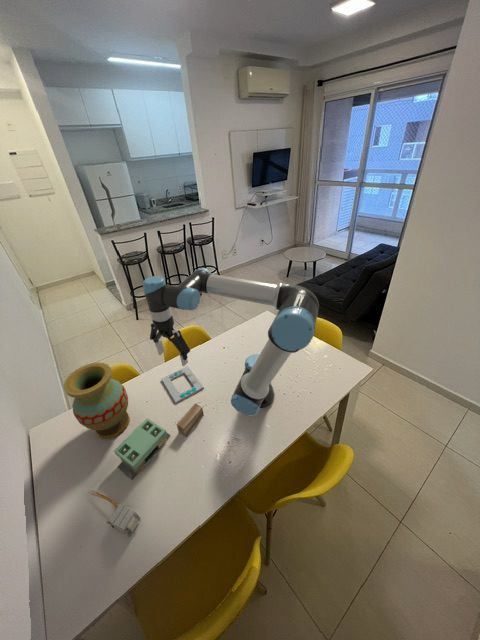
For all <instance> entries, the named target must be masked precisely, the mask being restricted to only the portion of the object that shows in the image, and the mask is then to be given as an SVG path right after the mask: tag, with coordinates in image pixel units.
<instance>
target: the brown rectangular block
mask: <svg viewBox="0 0 480 640" xmlns="http://www.w3.org/2000/svg"><path fill="white" fill-rule="evenodd" d="M203 417H204V409H203V406H201V405H199V404H197V403H194V404H192V406H191V407H190V408H189V409H188V411H186V413H185V414H184V415H183V416H182V417H181V418H180V420H179V421H177V422H176V428H177V430H178V433H179V434H181V435H182V436H184V437H185V438H187V436H188V435H189V434H190V433H191V432H192V430H193V429H194V428H195V427H196V425H198V423H199V422H200V421H201V420H202V419H203Z"/></svg>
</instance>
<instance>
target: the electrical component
mask: <svg viewBox="0 0 480 640" xmlns="http://www.w3.org/2000/svg"><path fill="white" fill-rule="evenodd" d="M87 493H88V494H91V495H93V496H96V497H99V498H101V499H103V500H106V501H108V502H110V503H112V504H114V505H115V506H116V508H115V510H114V512H113V514H112V515H111V516H110V517H109V519H108V520H107V522H106V524H108V525H110V528H113V529H114V528H115V529H117V530H119V531H120V532H122V533H124V534H126V536H127V537H128V538H132V536H133V533H134V530H135V529H136V527H138V526H137V525H138V524H139V522H141V519H142V518H141V516H140V515H139V514H138V513H137V512H136V511H135V510H133V509H131V508H129V507H128V506H125V505H123V504H121V503H119V505H118V503H117V502H115V501H114V500H112V499H111V498H109V497H107V496H105V495H103V494H102V493H99V492H98V491H96V490H91V491H87Z"/></svg>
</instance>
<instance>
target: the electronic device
mask: <svg viewBox="0 0 480 640" xmlns="http://www.w3.org/2000/svg"><path fill="white" fill-rule="evenodd" d="M183 375H184V376H185V377H186V378H187V380H188V382H190V383H191V386H192V387H190V388H189V389H187V390H185V391H183V392H182V393H179V390H178V389H177V388H176V386H175V385H174V383H173V382H172V381H173V380H175V379H177V378H179V377H181V376H183ZM161 381H162V383H163V384H164V386H165V388H166V390H167V391H168V392H169V394H170V396H171V398H172V400H173V401H174V403H175V404H178V403H180V402H182V401H183V400H186V399H188V398H189V397H191V396H193V395H195V394H197V393H198V392H200V391H202V390H204V389H205V387H204V386H203V384H202V383H201V381H200V380H199V379H198V378H197V376H196V375H195V374H194V373H193V371H192V370H191V368H190V367H189V366H187V365H186V366H184V367H182V368H181V369H179V370H176V371H175V372H173V373H169V375H167V376H165V377H162V378H161Z"/></svg>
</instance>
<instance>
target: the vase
mask: <svg viewBox="0 0 480 640" xmlns="http://www.w3.org/2000/svg"><path fill="white" fill-rule="evenodd" d="M63 390H64V392H65V393H66V394H67V396H69V397H71V398H73V401H72V412H73V416H74V418H75V419H76V420H77V422H79V425H81V426H82V427H85V428H87V429H89V430H93V431H95V433H96V434H97V436H98V438H101V439H102V440H103V439H104V440H111V439H115V438H116V437H118V436H120V435H121V434H123V432H125V431H126V429H127V428H128V426H129V424H130V415H129V413H128V407H129V395H128V393H127V390H126V388H125V387H124V385H123V384H122V383H121V382H120V381H118V380H117V379H114V378H113V371H112V368H111V367H110V366H109V364H107V363H105V362H100V361H99V362H93V363H87V364H85V365H82V366H80V367H79V368H76V369H75V370H74V371H73V372H71V373H70V374H69V375H68V376H67V377H66V379H65V380H64V383H63Z"/></svg>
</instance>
